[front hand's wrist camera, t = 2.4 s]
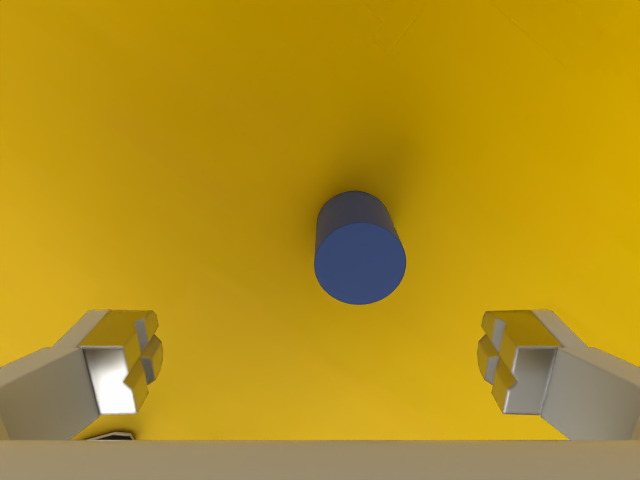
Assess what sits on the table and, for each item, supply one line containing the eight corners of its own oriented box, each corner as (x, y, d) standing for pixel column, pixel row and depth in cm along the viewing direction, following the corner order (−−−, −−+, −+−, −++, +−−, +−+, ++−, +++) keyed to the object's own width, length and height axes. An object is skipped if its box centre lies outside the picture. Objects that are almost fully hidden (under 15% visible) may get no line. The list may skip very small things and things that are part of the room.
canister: (346, 272, 22) (350, 320, 18) (301, 220, 21) (295, 258, 17) (405, 232, 21) (424, 272, 17) (361, 175, 20) (370, 204, 16)
